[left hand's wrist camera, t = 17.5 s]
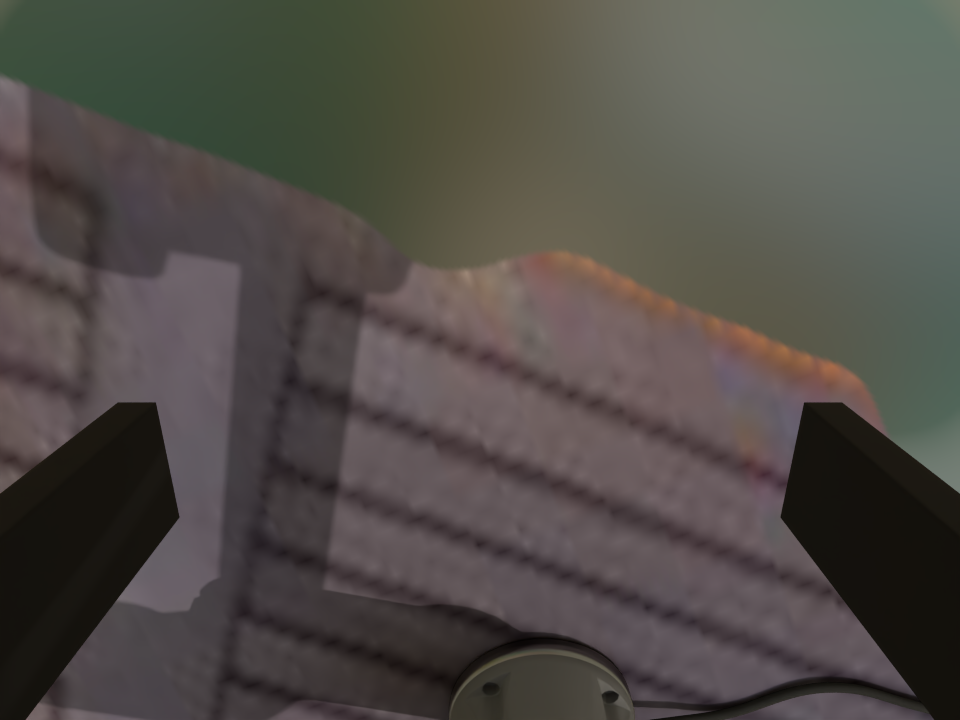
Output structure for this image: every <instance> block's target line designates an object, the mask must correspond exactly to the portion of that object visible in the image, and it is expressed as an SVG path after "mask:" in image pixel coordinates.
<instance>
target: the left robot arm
mask: <svg viewBox="0 0 960 720" xmlns="http://www.w3.org/2000/svg"><path fill="white" fill-rule="evenodd" d="M178 519H179V513H178V508H177V503H176V498H175V493H174V488H173V484H172V479H171V474H170V469H169V464H168V459H167V454H166V450H165V445H164V440H163V435H162V430H161V425H160V420H159V416H158V411H157V406H156V403H117V404H115V405H114V406H113V407H112V408H110V409H109V410H108V411H106V412H105V413H104V414H103V415H101V416H100V417H99V418H97V419H96V420H95V421H93V422H92V423H91V424H90V425H88V426H87V427H86V428H84V429H83V430H82V431H81V432H79V433H78V434H77V435H75V436H74V437H73V438H72V439H70V440H69V441H68V442H66V443H65V444H64V445H62V446H61V447H60V448H59V449H57V450H56V451H55V452H53V453H52V454H51V455H50V456H48V457H47V458H46V459H44V460H43V461H42V462H41V463H39V464H38V465H37V466H35V467H34V468H33V469H32V470H30V471H29V472H28V473H26V474H25V475H24V476H22V477H21V478H20V479H19V480H17V481H16V482H15V483H13V484H12V485H11V486H10V487H8V488H7V489H6V490H4V491H3V492H2V493H1V494H0V720H26V718H27V717H28V716H29V714H30V713H31V712H32V711H33V709H34V708H35V707H36V705H37V704H38V703H39V701H40V700H41V699H42V697H43V696H44V695H45V693H46V692H47V691H48V690H49V688H50V687H51V686H52V684H53V683H54V682H55V680H56V679H57V678H58V676H59V675H60V674H61V672H62V671H63V670H64V668H65V667H66V666H67V665H68V663H69V662H70V661H71V659H72V658H73V657H74V655H75V654H76V653H77V651H78V650H79V649H80V647H81V646H82V645H83V643H84V642H85V641H86V640H87V638H88V637H89V636H90V634H91V633H92V632H93V630H94V629H95V628H96V626H97V625H98V624H99V622H100V621H101V620H102V619H103V617H104V616H105V615H106V613H107V612H108V611H109V609H110V608H111V607H112V605H113V604H114V603H115V601H116V600H117V599H118V597H119V596H120V595H121V594H122V592H123V591H124V590H125V588H126V587H127V586H128V584H129V583H130V582H131V580H132V579H133V578H134V576H135V575H136V574H137V572H138V571H139V570H140V569H141V567H142V566H143V565H144V563H145V562H146V561H147V559H148V558H149V557H150V555H151V554H152V553H153V551H154V550H155V549H156V547H157V546H158V545H159V544H160V542H161V541H162V540H163V538H164V537H165V536H166V534H167V533H168V532H169V530H170V529H171V528H172V526H173V525H174V524H175V523H176V521H177V520H178ZM781 519H782V520H783V521H784V523H785V524H786V525H787V526H788V528H789V529H790V530H791V532H792V533H793V534H794V536H795V537H796V538H797V540H798V541H799V542H800V544H801V545H802V546H803V547H804V549H805V550H806V551H807V553H808V554H809V555H810V557H811V558H812V559H813V561H814V562H815V563H816V565H817V566H818V567H819V569H820V570H821V571H822V572H823V574H824V575H825V576H826V578H827V579H828V580H829V582H830V583H831V584H832V586H833V587H834V588H835V590H836V591H837V592H838V594H839V595H840V596H841V597H842V599H843V600H844V601H845V603H846V604H847V605H848V607H849V608H850V609H851V611H852V612H853V613H854V615H855V616H856V617H857V619H858V620H859V621H860V622H861V624H862V625H863V626H864V628H865V629H866V630H867V632H868V633H869V634H870V636H871V637H872V638H873V640H874V641H875V642H876V643H877V645H878V646H879V647H880V649H881V650H882V651H883V653H884V654H885V655H886V657H887V658H888V659H889V661H890V662H891V663H892V665H893V666H894V667H895V668H896V670H897V671H898V672H899V674H900V675H901V676H902V678H903V679H904V680H905V682H906V683H907V684H908V686H909V687H910V688H911V690H912V691H913V692H914V693H915V695H916V696H917V697H918V699H919V700H920V701H921V702H918V701H914V700H910V699H907V698H903V697H900V696H897V695H894V694H890V693H887V692H884V691H881V690H877V689H874V688H870V687H866V686H862V685H856V684H850V683H836V682H828V683H812V684H805V685H800V686H795V687H791V688H787V689H784V690H781V691H777V692H775V693H772V694H769V695H766V696H763V697H760V698H758V699H755V700H752V701H749V702H746V703H743V704H740V705H737V706H733V707H730V708H726V709H721V710H717V711H712V712H706V713H699V714H691V715H683V716H675V717H668V718H660V719H652V720H725V719H729V718H733V717H737V716H740V715H744V714H747V713H750V712H753V711H756V710H759V709H761V708H764V707H767V706H770V705H773V704H775V703H778V702H781V701H784V700H788V699H791V698H795V697H799V696H804V695H809V694H816V693H835V692H837V693H852V694H859V695H864V696H868V697H872V698H876V699H879V700H883V701H886V702H889V703H892V704H895V705H899V706H902V707H905V708H909V709H913V710H916V711H920V712H924V713H928V714H931V716H932V717H933V718H934V720H960V494H959V493H958V492H957V491H956V490H954V489H953V488H952V487H950V486H949V485H948V484H947V483H945V482H944V481H943V480H941V479H940V478H939V477H938V476H936V475H935V474H934V473H932V472H931V471H930V470H928V469H927V468H926V467H925V466H923V465H922V464H921V463H919V462H918V461H917V460H916V459H914V458H913V457H912V456H910V455H909V454H908V453H906V452H905V451H904V450H903V449H901V448H900V447H899V446H898V445H896V444H895V443H894V442H892V441H891V440H890V439H888V438H887V437H886V436H885V435H883V434H882V433H881V432H879V431H878V430H877V429H876V428H874V427H873V426H872V425H870V424H869V423H868V422H867V421H865V420H864V419H863V418H861V417H860V416H859V415H857V414H856V413H855V412H854V411H852V410H851V409H850V408H848V407H847V406H846V405H845V404H843V403H804V406H803V411H802V416H801V420H800V425H799V430H798V435H797V440H796V445H795V450H794V454H793V459H792V464H791V469H790V474H789V479H788V484H787V488H786V493H785V498H784V503H783V508H782V513H781ZM449 720H635V714H634V708H633V703H632V700H631V696H630V692H629V688H628V686H627V683H626V681H625V679H624V677H623V676H622V674H621V673H620V671H619V670H618V669H617V668H616V667H615V666H614V665H613V664H612V663H611V662H610V661H609V660H608V659H606V658H605V657H604V656H602V655H601V654H599V653H597V652H596V651H594V650H592V649H590V648H587V647H585V646H582V645H579V644H576V643H572V642H568V641H563V640H554V639H532V640H524V641H519V642H514V643H510V644H507V645H504V646H501V647H499V648H496V649H494V650H492V651H490V652H488V653H486V654H485V655H483V656H481V657H480V658H478V659H477V660H476V661H474V662H473V663H472V664H471V665H470V666H469V667H468V668H467V669H466V670H465V671H464V672H463V673H462V675H461V676H460V677H459V679H458V681H457V682H456V684H455V686H454V688H453V691H452V694H451V699H450V710H449Z"/></svg>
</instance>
